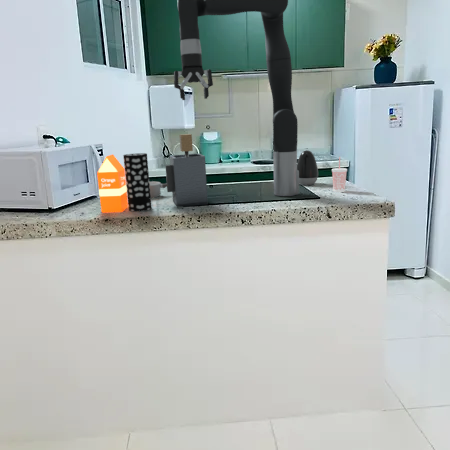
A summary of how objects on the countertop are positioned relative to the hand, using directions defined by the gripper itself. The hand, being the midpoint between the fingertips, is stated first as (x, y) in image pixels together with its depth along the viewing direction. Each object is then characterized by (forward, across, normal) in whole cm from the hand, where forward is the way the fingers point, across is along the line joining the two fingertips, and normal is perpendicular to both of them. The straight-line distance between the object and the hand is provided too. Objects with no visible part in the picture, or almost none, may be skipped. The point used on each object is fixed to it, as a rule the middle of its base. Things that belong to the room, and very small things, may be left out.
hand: (194, 99), depth 167 cm
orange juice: (+38, +34, +4) cm, 51 cm away
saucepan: (+38, +16, -16) cm, 44 cm away
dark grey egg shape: (+40, -50, -12) cm, 65 cm away
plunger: (+37, +6, +5) cm, 38 cm away
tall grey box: (+38, +7, +5) cm, 39 cm away
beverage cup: (+40, -55, +10) cm, 68 cm away
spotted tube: (+38, +25, +7) cm, 46 cm away
